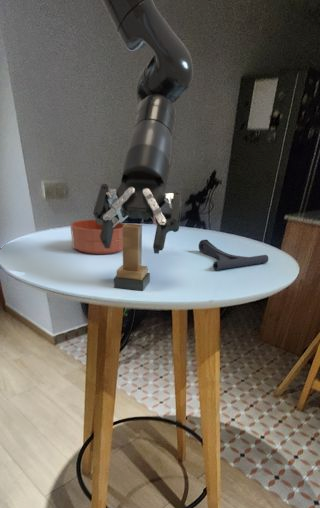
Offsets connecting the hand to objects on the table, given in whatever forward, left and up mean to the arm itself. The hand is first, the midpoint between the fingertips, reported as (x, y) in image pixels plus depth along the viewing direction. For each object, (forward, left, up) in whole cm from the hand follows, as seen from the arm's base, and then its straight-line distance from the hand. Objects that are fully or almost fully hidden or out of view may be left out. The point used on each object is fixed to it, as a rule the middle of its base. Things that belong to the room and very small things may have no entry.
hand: (130, 248), depth 60 cm
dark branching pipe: (+14, +25, -6) cm, 30 cm away
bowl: (-14, +24, -6) cm, 28 cm away
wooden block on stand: (0, +1, -6) cm, 6 cm away
